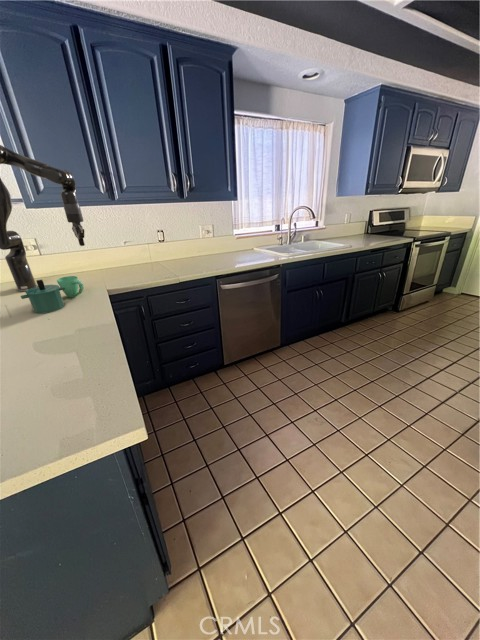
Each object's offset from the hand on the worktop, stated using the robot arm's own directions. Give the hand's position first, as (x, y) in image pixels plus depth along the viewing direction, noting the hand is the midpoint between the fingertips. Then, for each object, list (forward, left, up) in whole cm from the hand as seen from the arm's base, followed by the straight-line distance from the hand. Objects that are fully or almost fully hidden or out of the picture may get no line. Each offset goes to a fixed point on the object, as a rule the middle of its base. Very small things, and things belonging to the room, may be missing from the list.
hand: (82, 245), depth 149 cm
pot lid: (+16, -27, -16) cm, 35 cm away
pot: (+16, -27, -25) cm, 40 cm away
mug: (+8, -12, -25) cm, 29 cm away
